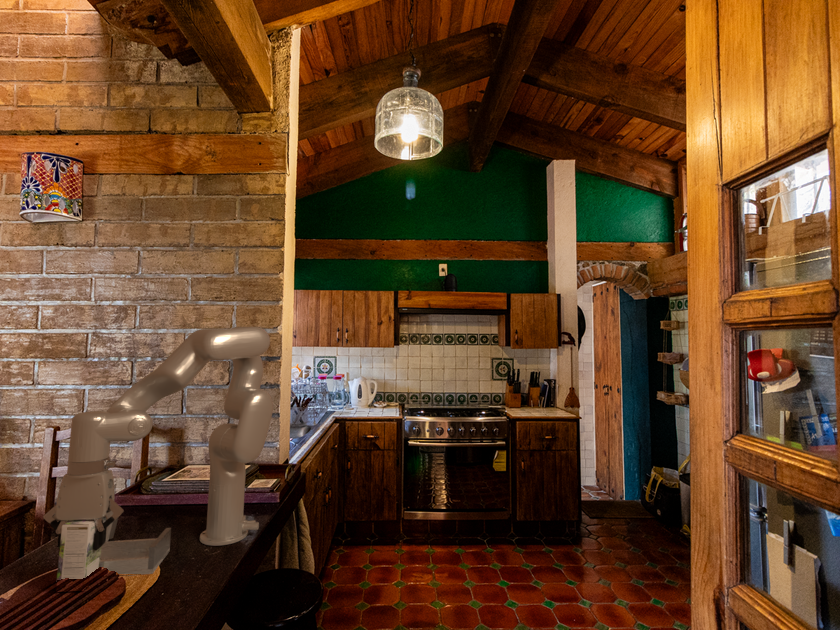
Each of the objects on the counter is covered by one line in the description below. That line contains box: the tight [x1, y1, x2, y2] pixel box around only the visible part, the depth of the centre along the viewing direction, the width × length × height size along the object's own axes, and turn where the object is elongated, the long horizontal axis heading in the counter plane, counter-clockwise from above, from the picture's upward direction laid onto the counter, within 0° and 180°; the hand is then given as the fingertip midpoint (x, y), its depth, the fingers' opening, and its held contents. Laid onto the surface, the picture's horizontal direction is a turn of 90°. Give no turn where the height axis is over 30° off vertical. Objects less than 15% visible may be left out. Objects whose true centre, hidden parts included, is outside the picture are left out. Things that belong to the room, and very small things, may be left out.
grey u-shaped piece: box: [100, 527, 172, 575], centre depth 108 cm, size 18×12×6 cm, turn 103°
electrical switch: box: [105, 511, 119, 542], centre depth 122 cm, size 9×5×9 cm, turn 86°
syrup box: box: [56, 519, 102, 581], centre depth 99 cm, size 6×6×14 cm
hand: (81, 547), depth 99 cm, fingers closed on syrup box, 6 cm apart
